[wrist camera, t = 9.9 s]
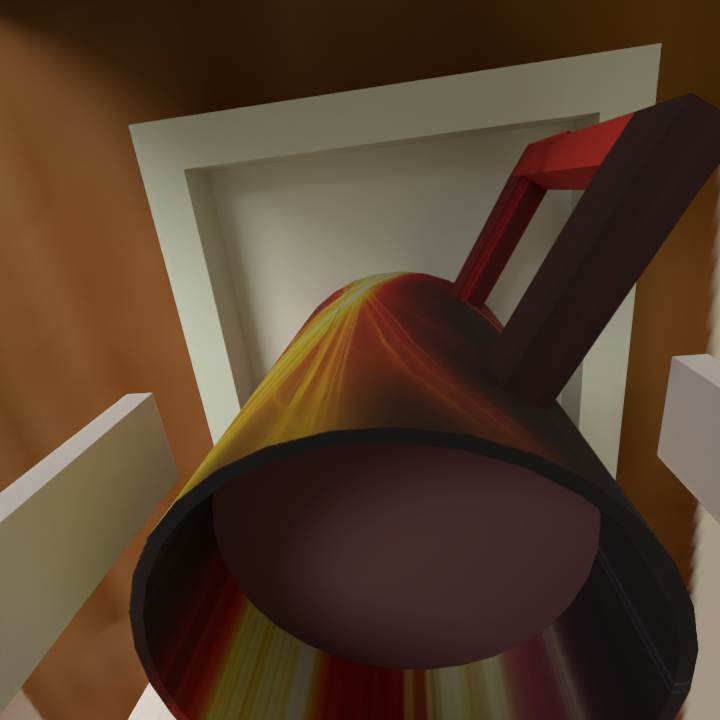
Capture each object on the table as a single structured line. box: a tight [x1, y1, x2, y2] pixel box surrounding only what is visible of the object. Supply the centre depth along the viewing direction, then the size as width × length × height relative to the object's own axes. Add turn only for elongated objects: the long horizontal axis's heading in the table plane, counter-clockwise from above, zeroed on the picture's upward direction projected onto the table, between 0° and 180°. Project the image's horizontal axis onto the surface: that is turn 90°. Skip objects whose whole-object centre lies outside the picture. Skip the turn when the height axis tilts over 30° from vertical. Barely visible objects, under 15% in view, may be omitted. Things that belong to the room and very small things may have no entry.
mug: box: [129, 93, 720, 720], centre depth 13 cm, size 10×14×12 cm
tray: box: [128, 43, 662, 480], centre depth 18 cm, size 18×16×4 cm
